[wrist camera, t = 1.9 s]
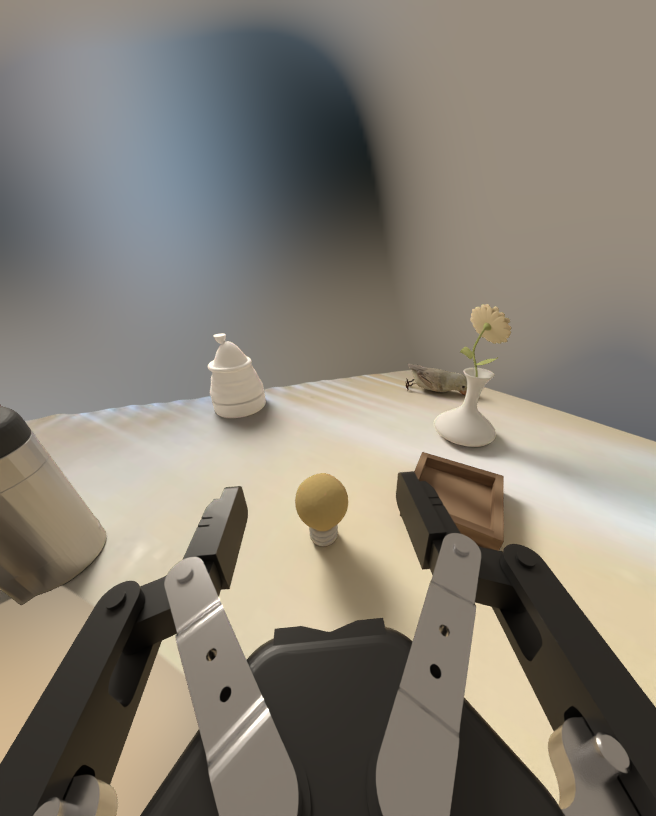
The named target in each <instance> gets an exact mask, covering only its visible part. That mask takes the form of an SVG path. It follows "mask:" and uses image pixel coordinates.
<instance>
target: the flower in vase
mask: <svg viewBox="0 0 656 816" xmlns="http://www.w3.org/2000/svg"><path fill="white" fill-rule="evenodd" d="M471 316H472V318H471V319H470V320H471V322H472V323H473V327H474V328H475V329H476V332H477V333H479V334H480V335H479V337H478V339H477V341H476V342H475V345H474V347H473V351H470V349H468V348H467V347H464V348H463V349H462V350H461V351H460V352H461V353H463V354H465V355H466V356H467V357H468V358H469V359H472V357H473V361H474V365H475V368H467V369H465V370H464V373H465V375H466V378H467V393H466V397H465V400H464V402H463V404H462V405H461V406H460V407H458V408H455V409H452V410H448V411H446V412H443V413H441V414H440V415H438V416H437V418H436V419H435V420H434V427H435V429H436V431H437V432H438V433H439V434H440V435H441V436H442V437H443V438H445V439H447V440H449V441H451V442H453V443H456V444H459V445H463V446H470V447H479V446H484V445H487V444H489V443H491V442H492V441H493V440H494V439H495V437H496V434H495V429H494V427H493V426H492V424H491V423H490V422H489V421H488V420H487V419H486V418H485V417H484V416H483V415H482V414H481V413H480V412H479V411H478V409H477V403H478V399H479V396H480V393H481V391H482V389H483V388H484V386H485V384H486V383H487V382H488V381H489V380H490V379H492V378H493V377H494V376H495V374H494V373H493V372H491V371H489V370H486V369H481V368H477V365H484V364H487V363H490V362H492V361H494V360H495V359H487V360H484V361H482V362H480V363H478V364H476V360H475V354H474V351H475V347H476V345H477V343H478V341H479V339H480V338H481V337H482V338H484V337H485V338H486V340H487V341H489V342H490V341H491V342H492V343H494V344H496V342H497V343H501V342H507V339H506V338H509V336H510V334H511V331H510V330H511V326H509V325H508V323H509V322H510V320H509V318H504V317H505V314H504V313H502V312H501V313H499V309H498V307H494V308H493V309H492V308H491V307H490V305H488V304H487V305H484V304H483V305H482V306H481V308H480V307H476V308H475V309H473V310H472V314H471ZM496 359H497V358H496Z"/></svg>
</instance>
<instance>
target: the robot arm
mask: <svg viewBox="0 0 656 816" xmlns="http://www.w3.org/2000/svg"><path fill="white" fill-rule="evenodd" d="M396 500H397V505H398V508H399V511H400V513H401V516H402V518H403V521H404V524H405V526H406V529H407V531H408V534H409V537H410V539H411V542H412V544H413V547H414V550H415V552H416V555H417V557H418V560H419V562H420V565H421V568H422V569H430V570H431V572H432V575H433V577H432V580H431V582H430V585H429V588H428V591H427V595H426V598H425V602H424V605H423V608H422V612H421V615H420V619H419V622H418V625H417V629H416V632H415V636H414V639H413V641H411V640H410V639H409V638H408V637H406V636H405V635H403V634H402V633H400V632H398V631H396V630H393V629H391V628H387V627H385V625H384V621H383V618H377V619H367V620H357V621H355V622H352V623H350V624H348V625H345V626H343V627H341V628H339V629H336V630H334V631H332V632H326V631H321V630H317V629H312V628H308V627H303V626H298V627H288V628H278V629H275V632H274V639H271V640H269V641H268V642H266V643H264V644H263V645H262V646H260V647H259V648H258V649H256V650H255V651H254V652H253V653H252V654H251V655H250V656H249V658H248V659H247V660H246V658H245V656H244V654H243V651H242V649H241V647H240V645H239V642H238V640H237V638H236V635H235V633H234V631H233V629H232V626H231V624H230V622H229V620H228V617H227V615H226V613H225V610H224V608H223V606H222V604H221V601H220V599H219V594H220V591H221V590H222V589H230V585H231V581H232V577H233V573H234V569H235V565H236V562H237V558H238V554H239V550H240V546H241V542H242V538H243V534H244V531H245V527H246V523H247V518H248V509H247V504H246V501H245V497H244V493H243V490H242V487H241V486H237V487H226V488H224V490H223V492H222V495H221V497H220V499H214V500H213V501H212V502H211V503H210V504H209V505H208V506H207V507H206V509H205V511H204V513H203V516H202V519H201V520H200V522H199V524H198V528H197V529H196V531H195V533H194V536H193V538H192V540H191V542H190V544H189V547H188V549H187V551H186V553H185V555H184V558H183V560H181V561H180V562H178V563H177V564H176V565H174V566H173V567H172V569H171V570H170V571H169V572H168V574H167V575H166V576H165V577H163V578H160V579H158V580H156V581H153V582H151V583H148V584H145V585H143V586H139V584H138V583H137V582H135V581H126V582H123V583H120V584H118V585H116V586H114V587H113V588H111V589H110V590H109V591H108V592H106V593H105V594H104V595H103V596H102V597H101V599H100V600H99V601H98V603H97V604H96V606H95V607H94V609H93V611H92V612H91V614H90V616H89V618H88V619H87V621H86V622H85V624H84V626H83V628H82V629H81V631H80V632H79V634H78V636H77V637H76V639H75V641H74V642H73V644H72V646H71V647H70V649H69V651H68V652H67V654H66V656H65V657H64V659H63V661H62V662H61V664H60V666H59V667H58V669H57V671H56V672H55V674H54V676H53V677H52V679H51V681H50V682H49V684H48V686H47V687H46V689H45V691H44V692H43V694H42V696H41V697H40V699H39V701H38V702H37V704H36V706H35V707H34V709H33V711H32V712H31V714H30V716H29V717H28V719H27V721H26V722H25V724H24V726H23V727H22V729H21V731H20V732H19V734H18V736H17V737H16V739H15V741H14V742H13V744H12V745H11V747H10V749H9V751H8V752H7V754H6V756H5V757H4V759H3V761H2V762H1V764H0V816H116V815H117V807H118V799H117V794H116V791H115V789H114V788H113V787H112V786H111V785H110V783H111V780H112V777H113V775H114V772H115V769H116V766H117V763H118V761H119V758H120V755H121V752H122V750H123V747H124V744H125V741H126V739H127V736H128V733H129V730H130V727H131V725H132V722H133V719H134V716H135V714H136V711H137V708H138V705H139V703H140V700H141V697H142V694H143V691H144V689H145V686H146V683H147V680H148V678H149V675H150V672H151V669H152V666H153V664H154V661H155V658H156V655H157V653H158V650H159V647H160V644H161V641H162V640H164V639H166V638H168V637H171V636H173V635H175V634H177V635H176V643H177V647H178V650H179V654H180V658H181V662H182V666H183V669H184V673H185V677H186V681H187V685H188V688H189V692H190V696H191V700H192V703H193V707H194V711H195V715H196V719H197V723H198V726H199V730H198V731H197V733H196V735H195V736H194V737H193V739H192V740H191V742H190V743H189V744H188V746H187V747H186V749H185V750H184V752H183V754H182V755H181V756H180V758H179V759H178V761H177V762H176V764H175V765H174V767H173V768H172V770H171V771H170V772H169V774H168V776H167V777H166V778H165V780H164V781H163V783H162V784H161V786H160V787H159V789H158V790H157V792H156V793H155V795H154V796H153V798H152V799H151V800H150V802H149V803H148V805H147V806H146V808H145V809H144V811H143V812H142V814H141V815H140V816H656V707H655V706H654V705H653V703H652V702H651V701H650V699H649V698H648V697H647V696H646V694H645V693H644V692H643V690H642V689H641V688H640V686H639V685H638V684H637V682H636V681H635V680H634V678H633V677H632V676H631V674H630V673H629V672H628V671H627V669H626V668H625V667H624V665H623V664H622V663H621V661H620V660H619V659H618V657H617V656H616V655H615V653H614V652H613V651H612V650H611V648H610V647H609V646H608V644H607V643H606V642H605V640H604V639H603V638H602V636H601V635H600V634H599V632H598V631H597V630H596V629H595V627H594V626H593V625H592V623H591V622H590V621H589V619H588V618H587V617H586V615H585V614H584V613H583V611H582V610H581V609H580V608H579V606H578V605H577V604H576V602H575V601H574V600H573V598H572V597H571V596H570V594H569V593H568V592H567V590H566V589H565V588H564V587H563V585H562V584H561V583H560V581H559V580H558V579H557V577H556V576H555V575H554V573H553V572H552V571H551V569H550V568H549V567H548V566H547V564H546V563H545V562H544V560H543V559H542V558H541V557H540V556H539V555H538V554H537V553H535V552H534V551H533V550H531V549H529V548H527V547H525V546H522V545H518V544H510V545H508V546H506V547H505V548H504V551H503V552H502V551H497V550H493V549H488V548H483V547H480V546H478V545H477V544H476V543H475V542H474V541H473V540H472V539H470V538H469V537H467V536H465V535H463V534H461V533H460V531H459V529H458V528H457V526H456V524H455V523H454V521H453V519H452V518H451V516H450V514H449V513H448V511H447V509H446V507H445V506H444V505H443V502H442V501H441V499H440V498H439V496H438V494H437V492H436V491H435V489H434V488H433V487H432V486H431V485H430V484H429V483H427V482H426V481H419V479H418V478H417V476H416V474H415V472H413V471H412V472H400V473H398V480H397V490H396ZM105 541H106V531H105V530H104V528H103V527H102V526H101V524H100V522H99V521H98V519H97V518H96V517H95V516H94V515H93V513H92V512H91V510H90V509H89V508H88V506H87V505H86V504H85V502H84V501H83V500H82V498H81V497H80V495H79V494H78V493H77V491H76V490H75V489H74V487H73V486H72V485H71V483H70V482H69V481H68V479H67V478H66V476H65V475H64V474H63V472H62V471H61V470H60V468H59V467H58V466H57V464H56V463H55V462H54V460H53V459H52V458H51V456H50V455H49V453H48V452H47V451H46V449H45V448H44V447H43V445H42V444H41V443H40V441H39V440H38V439H37V437H36V436H35V434H34V433H33V432H32V431H31V429H30V428H29V427H28V425H27V424H26V422H25V421H24V420H23V419H22V417H21V416H20V415H19V414H18V413H17V412H15V411H14V410H12V409H9V408H6V407H3V406H0V590H2V591H3V592H4V593H5V594H7V595H8V596H9V597H11V598H12V599H13V600H15V601H16V602H17V603H18V604H20V605H23V604H25V603H26V602H27V601H29V600H30V599H32V598H33V597H35V596H37V595H40V594H43V593H46V592H48V591H51V590H53V589H55V588H57V587H59V586H61V585H63V584H65V583H66V582H68V581H69V580H71V579H73V578H74V577H75V576H77V575H78V574H79V573H81V572H82V571H83V570H84V569H85V568H86V567H87V566H89V565H90V564H91V563H92V561H93V560H94V559H95V558H96V557H97V556H98V554H99V553H100V551H101V550H102V548H103V546H104V544H105ZM475 602H476V603H480V604H483V605H487V606H491V607H492V608H493V610H494V612H495V614H496V616H497V618H498V620H499V622H500V624H501V626H502V628H503V630H504V632H505V634H506V636H507V638H508V640H509V642H510V644H511V646H512V648H513V650H514V652H515V654H516V656H517V658H518V660H519V662H520V664H521V666H522V668H523V670H524V672H525V674H526V676H527V678H528V680H529V682H530V684H531V686H532V688H533V690H534V692H535V694H536V696H537V698H538V700H539V702H540V704H541V706H542V708H543V710H544V712H545V714H546V716H547V718H548V720H549V722H550V725H551V727H552V729H553V731H554V732H553V733H552V734H551V736H550V738H549V742H548V751H549V757H550V761H551V764H552V766H553V769H554V772H555V775H556V778H557V781H558V786H559V795H560V800H559V805H558V804H557V802H556V801H555V799H554V798H553V797H552V795H551V794H550V793H549V791H548V790H547V789H546V788H545V786H544V785H543V784H542V783H541V782H540V780H539V779H538V778H537V777H536V776H535V775H534V774H533V773H532V772H531V771H530V769H529V768H528V767H527V766H526V765H525V764H524V763H523V762H522V761H521V760H520V758H519V757H518V756H517V755H516V754H515V753H514V752H513V751H512V750H511V748H510V747H509V746H508V745H507V744H506V743H505V742H504V741H503V740H502V739H501V737H500V736H499V735H498V734H497V733H496V732H495V731H494V730H493V729H492V728H491V726H490V725H489V724H488V723H487V722H486V721H485V720H484V719H483V718H482V717H481V715H480V714H479V713H478V712H477V711H476V710H475V709H474V708H473V707H472V706H471V704H470V703H469V702H468V701H467V700H466V699H465V698H464V693H465V686H466V678H467V671H468V664H469V657H470V649H471V642H472V635H473V628H474V620H475V613H476V605H475Z"/></svg>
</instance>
